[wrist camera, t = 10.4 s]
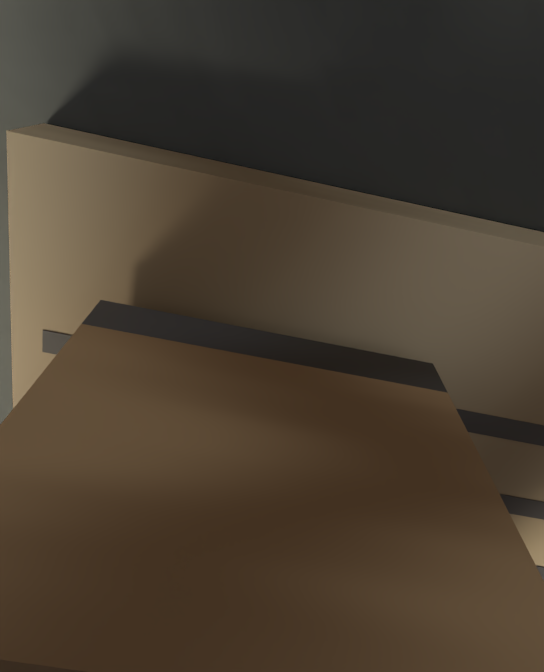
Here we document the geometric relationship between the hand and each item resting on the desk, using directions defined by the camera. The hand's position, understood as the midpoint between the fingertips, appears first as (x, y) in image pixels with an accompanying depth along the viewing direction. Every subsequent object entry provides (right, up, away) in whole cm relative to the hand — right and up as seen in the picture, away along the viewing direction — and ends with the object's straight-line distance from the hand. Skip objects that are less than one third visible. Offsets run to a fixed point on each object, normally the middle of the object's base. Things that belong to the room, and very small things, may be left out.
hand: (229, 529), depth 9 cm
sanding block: (0, 0, 0) cm, 1 cm away
